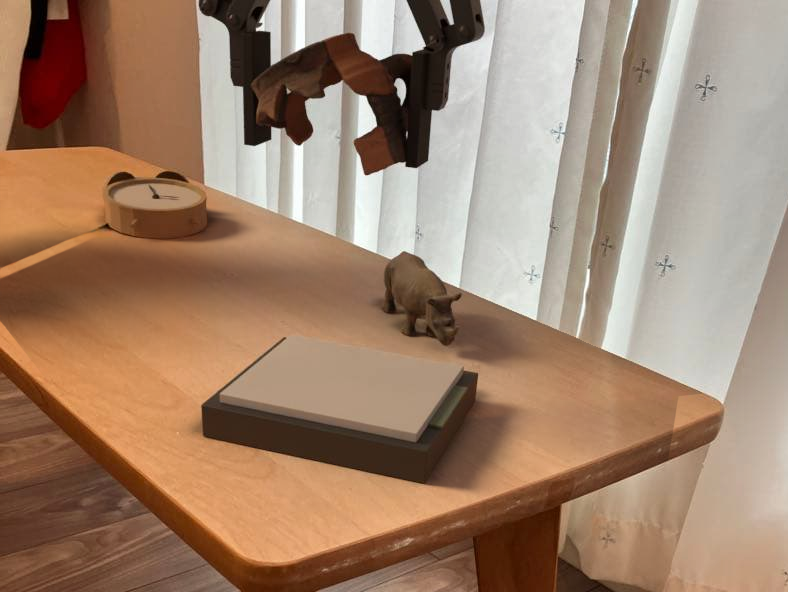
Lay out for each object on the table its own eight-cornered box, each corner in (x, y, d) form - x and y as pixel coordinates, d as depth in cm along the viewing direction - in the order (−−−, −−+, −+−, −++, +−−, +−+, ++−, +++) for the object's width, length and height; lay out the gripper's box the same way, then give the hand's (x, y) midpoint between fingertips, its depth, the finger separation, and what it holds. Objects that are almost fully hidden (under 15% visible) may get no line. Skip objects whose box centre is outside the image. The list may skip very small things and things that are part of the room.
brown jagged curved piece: (340, 192, 56) (276, 50, 53) (273, 227, 64) (215, 105, 61) (483, 124, 61) (431, -9, 58) (404, 164, 69) (356, 49, 66)
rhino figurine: (428, 365, 79) (434, 294, 75) (372, 308, 89) (376, 244, 86) (473, 361, 80) (481, 291, 77) (413, 306, 90) (418, 242, 87)
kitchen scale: (202, 436, 65) (200, 395, 63) (283, 364, 76) (283, 328, 75) (424, 483, 62) (428, 441, 60) (475, 401, 73) (479, 364, 71)
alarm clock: (112, 213, 99) (89, 156, 109) (115, 257, 103) (93, 198, 112) (218, 210, 103) (187, 155, 113) (217, 252, 107) (187, 195, 116)
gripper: (116, -311, 49) (150, 140, 61) (548, -300, 45) (493, 187, 57) (186, -282, 56) (204, 123, 68) (572, -269, 51) (517, 165, 63)
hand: (335, 152), depth 62 cm, fingers closed on brown jagged curved piece, 10 cm apart
